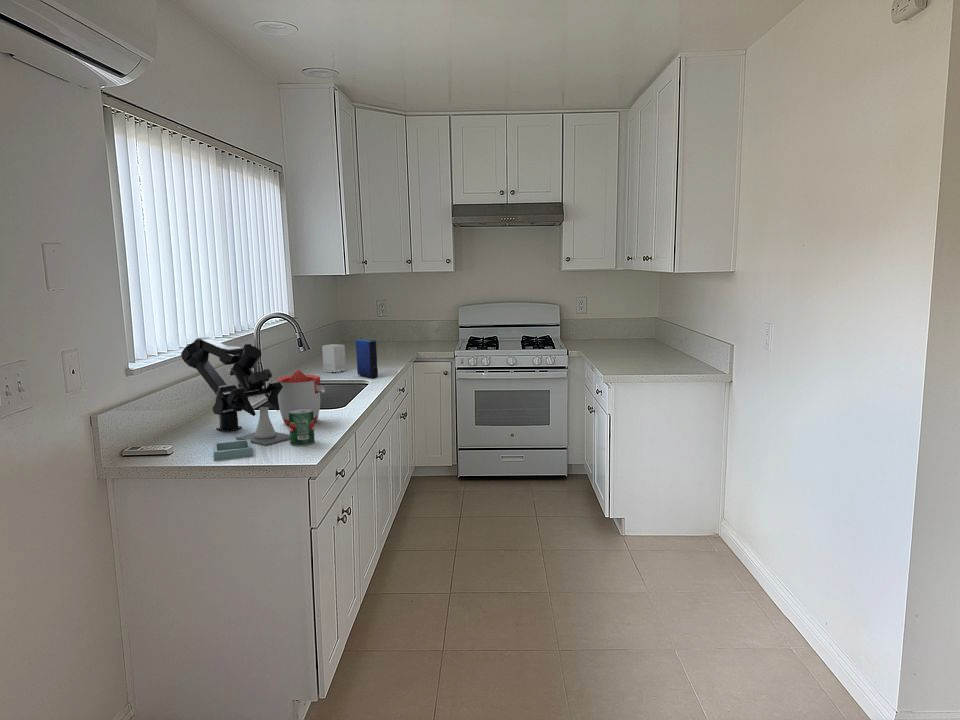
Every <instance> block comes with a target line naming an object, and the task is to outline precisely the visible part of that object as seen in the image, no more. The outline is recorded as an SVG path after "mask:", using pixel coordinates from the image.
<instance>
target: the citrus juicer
mask: <svg viewBox="0 0 960 720" xmlns="http://www.w3.org/2000/svg"><path fill="white" fill-rule="evenodd" d="M276 382H280V383H281V385H282V386H283V388H282V389H281V391H280V392H279V394H278V403H279V414H280V415H281V419H282V420H283V423H284V424H285V425H287V426H289V410H292V409H297V408H311V409H313V417H314V423H317V421H318V418H319V414H320V408H321V393H325V392H326V389H325V387H324V386H322V385H321V377H320V376H319V375H316V374H305V373H303V372H302V371H301V370H299V369H297V370H296V371H294V373H293V374H291V375H286V376H285V375H284V376H281V377H278V378H276Z"/></svg>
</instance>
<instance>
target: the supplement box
mask: <svg viewBox="0 0 960 720" xmlns="http://www.w3.org/2000/svg"><path fill="white" fill-rule="evenodd" d="M321 348H322V349H321V351H322V366H323V367H322V369H326V370H341V369H345V368H346V365H347V364H346V348H345V344H336V343H333V344H332V343H331V344H324V345H321ZM341 371H344V372H346V371H345V370H341ZM341 371H336V372H339V373H342V372H341ZM323 372H324V370H323ZM327 372H333V371H326V372H325V373H327ZM333 374H336V373H335V372H334V373H333Z"/></svg>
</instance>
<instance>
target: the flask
mask: <svg viewBox="0 0 960 720" xmlns="http://www.w3.org/2000/svg"><path fill="white" fill-rule="evenodd" d="M269 410H270V408H269V407H267V406H262V407H261V406H260V407H259V408H258V411H259V418H258V419H259V420H258V422H257V425H256V426H257V427H256V430H255V432H254V433H255V436H254V437H255V438H257V439H265V438H271V437H275V436H276V432H277V431H275V429H274V427H273V424H272V422H271V419H270V415H269Z"/></svg>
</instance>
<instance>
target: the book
mask: <svg viewBox="0 0 960 720" xmlns="http://www.w3.org/2000/svg"><path fill="white" fill-rule="evenodd" d="M355 351H356V367H357V370H356V371H357V375H358V376H360V377H365V378H370V379H375V378H378V377H379V371H378V370H379V369H378V368H379V367H378V354H377V351H378V350H377V341H376V340H374V339H373V340H372V339H364V338H360V339H355ZM359 374H360V375H359ZM364 375H365V376H364Z"/></svg>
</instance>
